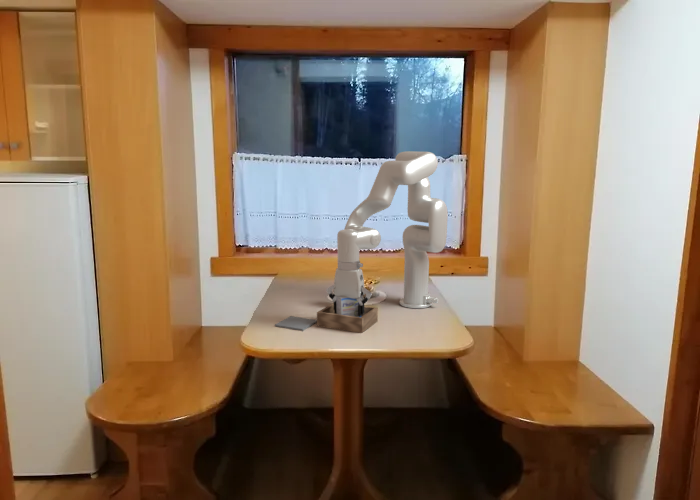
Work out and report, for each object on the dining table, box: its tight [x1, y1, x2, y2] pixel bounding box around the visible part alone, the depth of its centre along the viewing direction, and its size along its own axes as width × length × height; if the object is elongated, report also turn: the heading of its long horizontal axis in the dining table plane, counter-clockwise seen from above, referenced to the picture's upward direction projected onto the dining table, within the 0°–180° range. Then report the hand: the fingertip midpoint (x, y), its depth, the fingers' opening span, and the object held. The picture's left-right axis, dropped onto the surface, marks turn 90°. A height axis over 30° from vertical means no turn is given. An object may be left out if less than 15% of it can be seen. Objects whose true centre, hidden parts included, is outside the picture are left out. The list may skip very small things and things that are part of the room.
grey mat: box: [274, 315, 317, 332], centre depth 194 cm, size 11×11×1 cm
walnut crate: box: [316, 302, 379, 334], centre depth 195 cm, size 17×14×5 cm
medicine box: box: [336, 296, 361, 317], centre depth 194 cm, size 8×4×9 cm, turn 113°
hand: (348, 313), depth 195 cm, fingers closed on medicine box, 8 cm apart
